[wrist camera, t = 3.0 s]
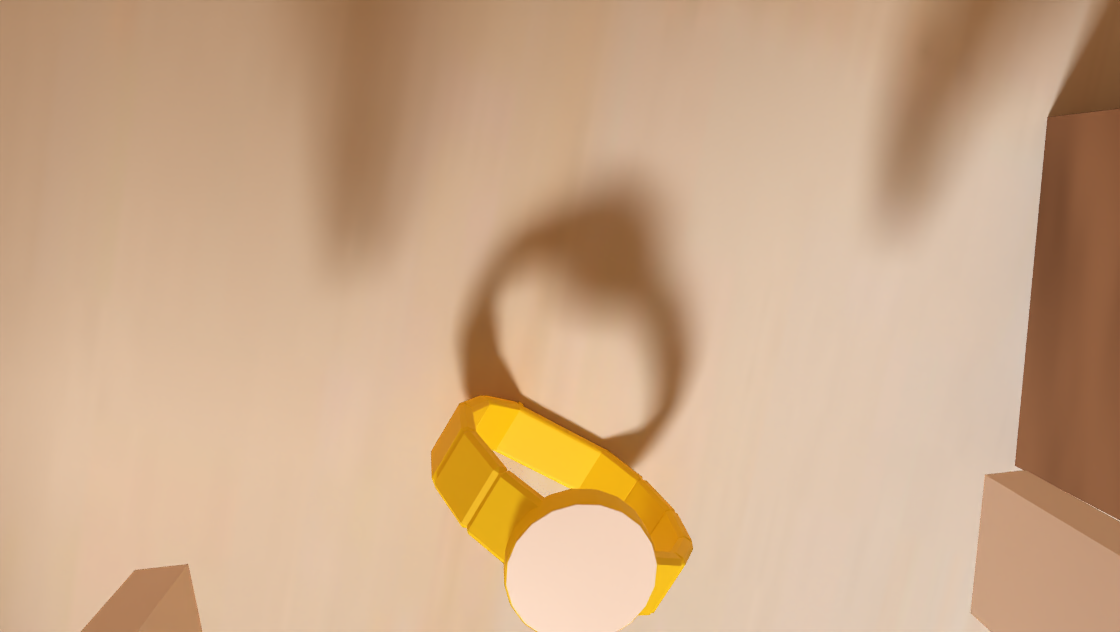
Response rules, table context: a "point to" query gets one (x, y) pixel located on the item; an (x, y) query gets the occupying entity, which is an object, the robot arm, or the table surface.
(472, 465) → the watch
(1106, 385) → the bottom block
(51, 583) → the table surface
